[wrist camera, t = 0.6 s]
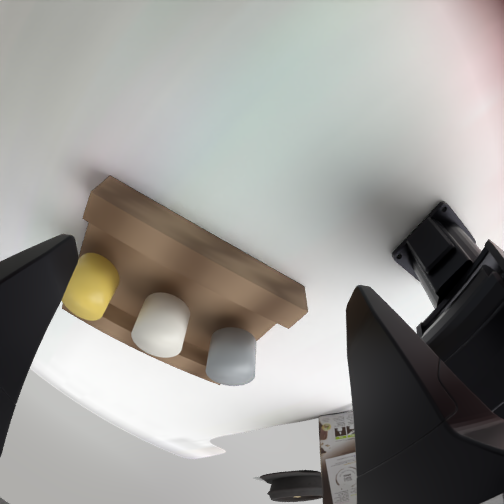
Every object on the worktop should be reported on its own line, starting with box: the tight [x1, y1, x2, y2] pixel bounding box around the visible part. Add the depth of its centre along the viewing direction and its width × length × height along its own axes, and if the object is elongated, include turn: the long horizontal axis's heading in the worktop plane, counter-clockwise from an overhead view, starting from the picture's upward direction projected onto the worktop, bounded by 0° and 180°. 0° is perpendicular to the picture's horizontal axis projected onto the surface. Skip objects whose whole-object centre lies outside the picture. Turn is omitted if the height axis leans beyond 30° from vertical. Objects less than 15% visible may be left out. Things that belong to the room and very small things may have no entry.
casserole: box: [260, 470, 323, 502], centre depth 62 cm, size 25×19×8 cm
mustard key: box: [62, 253, 120, 321], centre depth 20 cm, size 4×4×3 cm
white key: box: [131, 292, 190, 358], centre depth 22 cm, size 4×4×3 cm
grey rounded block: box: [206, 327, 256, 386], centre depth 24 cm, size 4×4×3 cm
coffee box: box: [319, 411, 357, 504], centre depth 35 cm, size 9×6×16 cm
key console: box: [62, 176, 308, 385], centre depth 25 cm, size 18×14×3 cm
